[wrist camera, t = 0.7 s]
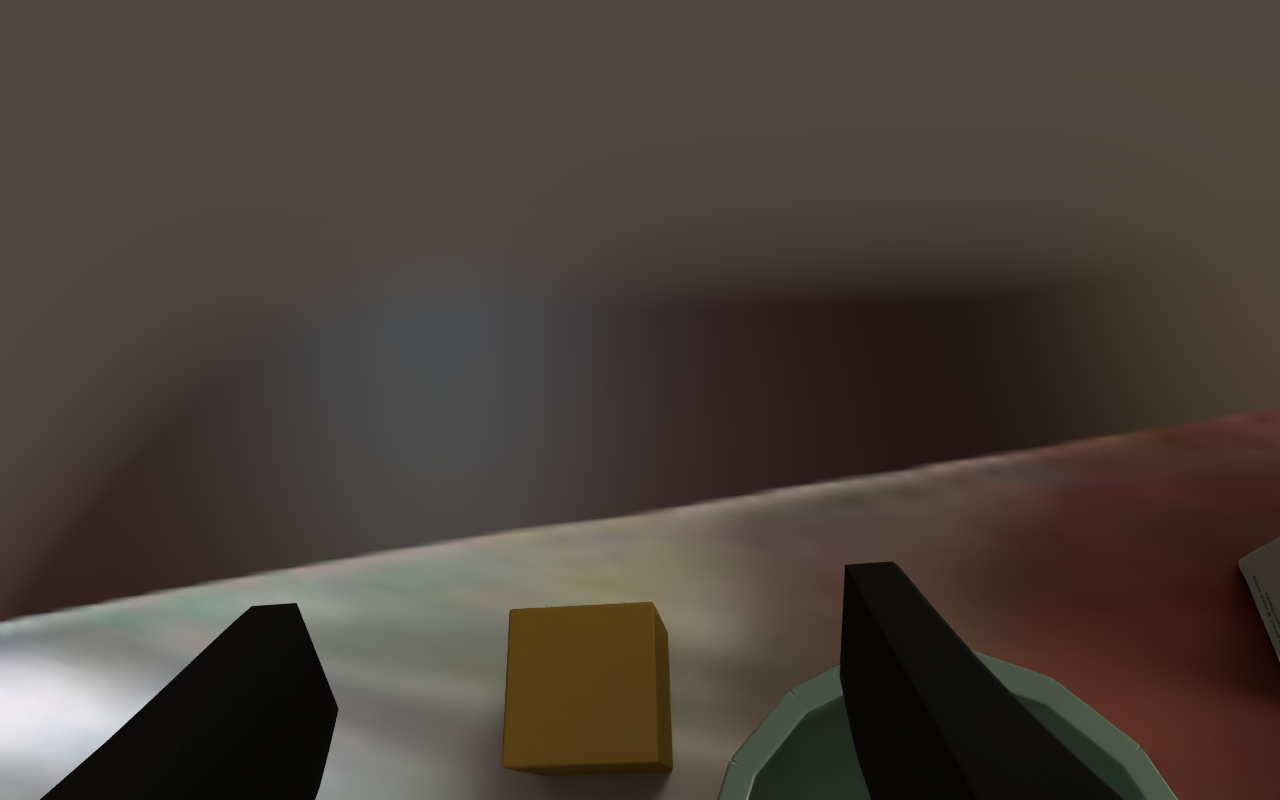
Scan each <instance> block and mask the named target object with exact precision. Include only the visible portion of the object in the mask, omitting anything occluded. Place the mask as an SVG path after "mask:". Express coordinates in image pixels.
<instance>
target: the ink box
mask: <svg viewBox="0 0 1280 800" xmlns="http://www.w3.org/2000/svg"><path fill="white" fill-rule="evenodd" d="M1238 565H1239V568H1240V570H1241V572H1242V574H1243V576H1244V578H1245V579H1246V581H1247V583H1248V586H1249V588H1250V591H1251V594H1252V596H1253V598H1254V601H1255V603H1256V606H1257V608H1258V611H1259V613H1260V616H1261V618H1262V620H1263V623H1264V625H1265V628H1266V630H1267V632H1268V635H1269V637H1270V639H1271V642H1272V644H1273V647H1274V649H1275V652H1276V654H1277V657H1278V659H1279V661H1280V537H1279V538H1277V539H1275V540H1273V541H1271V542H1270V543H1268V544H1266V545H1264V546H1262V547H1260V548H1258V549H1257V550H1255V551H1253V552H1251V553H1250V554H1248V555H1246V556H1245V557H1243V558H1241V559H1239V561H1238Z"/></svg>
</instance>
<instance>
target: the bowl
mask: <svg viewBox="0 0 1280 800" xmlns="http://www.w3.org/2000/svg"><path fill="white" fill-rule="evenodd" d="M971 651H972V650H971ZM972 652H973V653H974V654H975V655H976V656H977V657H978V658H979V659H980V660H981V661H982V662H983V663H984V665H985V666H986V667H987V668H988V669H989V670H990V671H991V672H992V673H993V674H994V675H995V676H996V677H997V678H998V679H999V680H1000V681H1001V682H1002V683H1003V684H1004V685H1005V686H1006V688H1007V689H1008V690H1009V691H1010V692H1011V693H1012V694H1013V695H1014V696H1015V697H1016V698H1017V699H1018V700H1019V701H1020V702H1021V703H1022V704H1023V705H1024V706H1025V707H1026V708H1027V709H1028V710H1029V711H1030V712H1031V713H1032V714H1033V715H1034V716H1035V717H1036V718H1037V719H1038V720H1039V721H1040V722H1041V723H1042V724H1043V725H1044V726H1045V727H1046V728H1047V729H1048V730H1049V731H1050V732H1051V733H1053V734H1054V735H1055V736H1056V737H1057V738H1058V739H1059V740H1060V741H1061V742H1062V743H1063V744H1064V745H1065V746H1066V747H1067V748H1068V749H1069V750H1070V751H1071V752H1072V753H1074V754H1075V755H1076V756H1077V757H1078V758H1079V759H1080V760H1081V761H1082V762H1083V763H1084V764H1085V765H1087V766H1088V767H1089V768H1090V769H1091V770H1092V771H1093V772H1094V773H1095V774H1096V775H1098V776H1099V777H1100V778H1101V779H1102V780H1103V781H1104V782H1105V783H1106V784H1108V785H1109V786H1110V787H1111V788H1112V789H1113V790H1114V791H1116V792H1117V793H1118V794H1119V795H1120V796H1121V797H1122V798H1124V799H1125V800H1178V799H1177V798H1176V796H1175V795H1174V793H1173V792H1172V790H1171V789H1170V788H1169V786H1168V785H1167V783H1166V782H1165V780H1164V779H1163V777H1162V776H1161V775H1160V773H1159V772H1158V770H1157V769H1156V767H1155V766H1154V764H1153V763H1152V762H1151V760H1150V759H1149V757H1148V756H1147V754H1146V753H1145V752H1144V750H1143V749H1142V748H1140V746H1139V744H1138V743H1136V742H1135V741H1134V740H1132V739H1131V738H1130V737H1128V736H1127V735H1126V734H1125V733H1123V732H1122V731H1121V730H1119V729H1118V728H1117V727H1116V726H1114V725H1113V724H1112V723H1110V722H1109V721H1108V720H1106V719H1105V718H1104V717H1103V716H1101V715H1100V714H1099V713H1097V712H1096V711H1095V710H1093V709H1092V708H1091V707H1090V706H1088V705H1087V704H1086V703H1084V702H1083V701H1082V700H1081V699H1079V698H1078V697H1077V696H1075V695H1074V694H1073V693H1071V692H1070V691H1069V690H1068V689H1066V688H1065V687H1064V686H1062V685H1061V684H1060V683H1059V682H1057V681H1056V680H1054V679H1053V680H1052V678H1051V677H1049V676H1046V675H1043V674H1040V673H1037V672H1034V671H1031V670H1028V669H1025V668H1022V667H1019V666H1016V665H1014V664H1011V663H1008V662H1005V661H1002V660H999V659H996V658H993V657H990V656H987V655H984V654H981V653H978V652H975V651H972ZM839 674H840V664H838V665H836V666H834V667H832V668H830V669H828V670H826V671H824V672H822V673H820V674H818V675H815V676H813V677H811V678H809V679H807V680H805V681H803V682H801V683H799V684H797V685H795V686H793V687H791V688H790V690H789V691H786V692H785V693H784V695H783V696H782V697H781V698H780V700H779V701H778V702H777V703H776V704H775V706H774V707H773V708H772V709H771V710H770V712H769V713H768V714H767V715H766V716H765V718H764V719H763V720H762V721H761V723H760V724H759V725H758V726H757V727H756V729H755V730H754V731H753V732H752V733H751V735H750V736H749V737H748V738H747V739H746V741H745V742H744V743H743V744H742V745H741V747H740V748H739V749H738V750H737V752H736V753H735V754H734V755H733V756H732V759H731V760H732V761H730V762H729V764H728V767H727V770H726V773H725V777H724V780H723V783H722V786H721V789H720V793H719V796H718V799H717V800H871V798H870V795H869V792H868V789H867V786H866V783H865V780H864V777H863V773H862V770H861V767H860V764H859V761H858V758H857V755H856V751H855V747H854V742H853V738H852V733H851V729H850V724H849V720H848V715H847V710H846V706H845V701H844V696H843V691H842V686H841V681H840V677H839Z"/></svg>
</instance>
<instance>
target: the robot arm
mask: <svg viewBox="0 0 1280 800" xmlns="http://www.w3.org/2000/svg"><path fill="white" fill-rule="evenodd" d="M839 677H840V681H841V686H842V691H843V696H844V701H845V706H846V710H847V715H848V720H849V724H850V729H851V733H852V738H853V742H854V747H855V751H856V755H857V758H858V761H859V764H860V767H861V770H862V773H863V777H864V780H865V783H866V786H867V789H868V792H869V795H870V798H871V800H1125V799H1124V798H1122V797H1121V796H1120V795H1119V794H1118V793H1117V792H1116V791H1114V790H1113V789H1112V788H1111V787H1110V786H1109V785H1108V784H1106V783H1105V782H1104V781H1103V780H1102V779H1101V778H1100V777H1099V776H1098V775H1096V774H1095V773H1094V772H1093V771H1092V770H1091V769H1090V768H1089V767H1088V766H1087V765H1085V764H1084V763H1083V762H1082V761H1081V760H1080V759H1079V758H1078V757H1077V756H1076V755H1075V754H1074V753H1072V752H1071V751H1070V750H1069V749H1068V748H1067V747H1066V746H1065V745H1064V744H1063V743H1062V742H1061V741H1060V740H1059V739H1058V738H1057V737H1056V736H1055V735H1054V734H1053V733H1051V732H1050V731H1049V730H1048V729H1047V728H1046V727H1045V726H1044V725H1043V724H1042V723H1041V722H1040V721H1039V720H1038V719H1037V718H1036V717H1035V716H1034V715H1033V714H1032V713H1031V712H1030V711H1029V710H1028V709H1027V708H1026V707H1025V706H1024V705H1023V704H1022V703H1021V702H1020V701H1019V700H1018V699H1017V698H1016V697H1015V696H1014V695H1013V694H1012V693H1011V692H1010V691H1009V690H1008V689H1007V688H1006V686H1005V685H1004V684H1003V683H1002V682H1001V681H1000V680H999V679H998V678H997V677H996V676H995V675H994V674H993V673H992V672H991V671H990V670H989V669H988V668H987V667H986V666H985V665H984V663H983V662H982V661H981V660H980V659H979V658H978V657H977V656H976V655H975V654H974V653H973V652H972V651H971V649H970V648H969V647H968V646H967V645H966V644H965V643H964V642H963V641H962V639H961V638H960V637H959V636H958V635H957V634H956V633H955V632H954V630H953V629H952V628H951V627H950V626H949V625H948V624H947V623H946V621H945V620H944V619H943V618H942V617H941V616H940V614H939V613H938V612H937V611H936V610H935V609H934V607H933V606H932V605H931V604H930V603H929V602H928V600H927V599H926V598H925V597H924V596H923V595H922V593H921V592H920V591H919V590H918V588H917V587H916V586H915V585H914V584H913V582H912V581H911V580H910V579H909V578H908V576H907V575H906V574H905V573H904V571H903V570H902V569H901V568H900V567H899V566H898V565H896V564H895V563H894V562H879V563H865V564H850V565H845V578H844V597H843V616H842V636H841V655H840V674H839ZM337 713H338V706H337V704H336V701H335V698H334V696H333V693H332V691H331V688H330V686H329V683H328V681H327V678H326V676H325V673H324V671H323V668H322V666H321V663H320V661H319V658H318V656H317V653H316V651H315V648H314V646H313V643H312V641H311V638H310V635H309V633H308V630H307V628H306V625H305V623H304V620H303V618H302V615H301V613H300V610H299V608H298V605H297V603H291V604H277V605H262V606H251V607H250V608H249V609H248V610H247V611H246V612H245V613H243V614H242V615H241V616H240V617H239V618H238V619H237V620H236V621H234V622H233V623H232V624H231V625H230V626H229V627H228V628H227V629H226V630H225V631H224V632H222V633H221V634H220V635H219V636H218V637H217V638H216V639H215V640H214V641H213V642H212V643H211V644H210V645H209V646H208V647H207V648H205V649H204V650H203V651H202V652H201V653H200V654H199V655H198V656H197V657H196V658H195V659H194V660H193V661H192V662H191V663H190V664H189V665H188V666H187V667H185V668H184V669H183V670H182V671H181V672H180V673H179V674H178V675H177V676H176V677H175V678H174V679H173V680H172V681H171V682H170V683H169V684H168V685H167V686H165V687H164V688H163V689H162V690H161V691H160V692H159V693H158V694H157V695H156V696H155V697H154V698H153V699H152V700H150V701H149V702H148V703H147V704H146V705H145V706H144V707H143V708H142V709H141V710H140V711H139V712H138V713H137V714H135V715H134V716H133V717H132V718H131V719H130V720H129V721H128V722H127V723H126V724H125V725H124V726H123V727H122V728H120V729H119V730H118V731H117V732H116V733H115V734H114V735H113V736H112V737H111V738H110V739H109V740H107V741H106V742H105V743H104V744H103V745H102V746H101V747H100V748H98V749H97V750H96V751H95V752H94V753H93V754H92V755H90V756H89V757H88V758H87V759H86V760H85V761H84V762H82V763H81V764H80V765H79V766H78V767H77V768H76V769H74V770H73V771H72V772H71V773H70V774H69V775H68V776H66V777H65V778H64V779H63V780H62V781H61V782H60V783H58V784H57V785H56V786H55V787H54V788H53V789H52V790H50V791H49V792H48V793H47V794H46V795H45V796H43V797H42V798H41V799H40V800H315V798H316V795H317V793H318V790H319V787H320V784H321V780H322V776H323V772H324V768H325V764H326V761H327V757H328V753H329V749H330V744H331V740H332V735H333V731H334V727H335V722H336V718H337Z"/></svg>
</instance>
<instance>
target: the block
mask: <svg viewBox="0 0 1280 800" xmlns="http://www.w3.org/2000/svg"><path fill="white" fill-rule="evenodd" d="M502 767H503V768H504V769H509V770H514V771H520V772H525V773H530V774H536V775H567V774H599V773H630V772H662V771H672V769H673V758H672V732H671V705H670V679H669V653H668V632H667V630H666V628H665V626H664V624H663V622H662V620H661V618H660V616H659V614H658V611H657V609H656V607H655V605H654V603H653V602H640V603H622V604H603V605H584V606H565V607H546V608H527V609H512V610H510V613H509V633H508V653H507V673H506V693H505V713H504V733H503V753H502Z"/></svg>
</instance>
